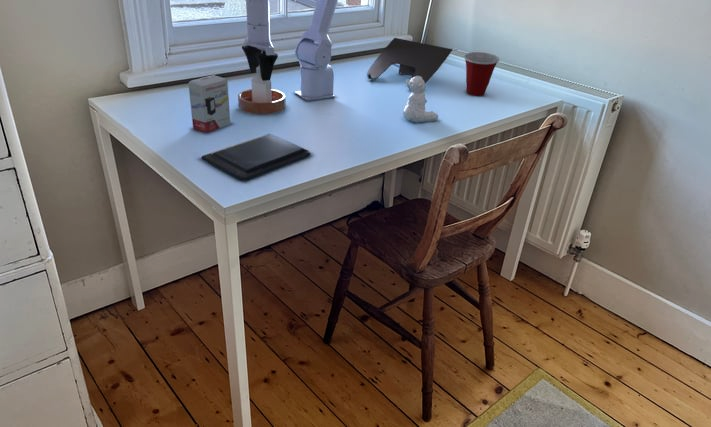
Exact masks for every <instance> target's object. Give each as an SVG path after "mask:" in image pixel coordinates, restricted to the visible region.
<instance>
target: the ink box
mask: <svg viewBox="0 0 711 427" xmlns="http://www.w3.org/2000/svg"><path fill="white" fill-rule="evenodd" d="M228 82H229V81H228V79H227V78H225V77H221V76H219V75H218V76H217V75H215V74H213V75H208V76H204V77H200V78H197V79H192V80H190V81H189V82H188V93H189V102H190V111H191V120H192V122H191V123H192V129H193V130H196V131H199V132H202V133H206V134H208V133H210V132H214V131H216V130H218V129H221V128H224V127H226V126H229V125H231V113H230V112H231V110H230V98H229V96H230V95H229V84H228Z"/></svg>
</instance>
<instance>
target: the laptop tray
mask: <svg viewBox="0 0 711 427" xmlns="http://www.w3.org/2000/svg"><path fill="white" fill-rule="evenodd" d="M453 51H454V49H453V48H448V47H445V46H444V47H443V46H438V45H432V44H428V43H424V42H418V41H412V40H408V39H404V38H398V37H393V39H392V40H391V41H390V42H389V43H388V44H387V45H386V47H385V48H384V49H383V50H382V51H381V53H380V54H379V55H378V56H377V57H376V59H375V60H374V61H373V63H372V64H371V65H370V67H369V69H368V70H367V72H366V76H367V78H368V81H369V82H372V81H373V80H377V79H378V78H379V77H381V76H382V75H383V74H384V73H385V72H386V71H387V70H388V69H389V68H390V67H391V66H393V65H399V67H398V74H399V75H400V76H410V80H411V79H412V78H413V77H416V76H421V77H422V79H423V80H424V82H425V84H426V83H427V82H429V80H430V79H431V78H432V77H433V76H434V75H435V74H436V73H437V71H438V70H439V69H440V68H441V67H442V65H443V64H444V63H445V61H446V60H447V58H449V56H450V55H451V53H452V52H453ZM408 86H409V85H408V84H407V88H408V89H409V91H410V92H412V91H411V89H410V88H409V87H408Z"/></svg>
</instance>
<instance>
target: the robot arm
mask: <svg viewBox="0 0 711 427" xmlns="http://www.w3.org/2000/svg"><path fill="white" fill-rule="evenodd" d="M244 1H245V10H246V29H247V35H244V41H243V45H242V46H241V49H242V51H243V53H244V55H245V57H246V61H247V63H248V64H247V65H248V68H249V71H250V73H251V74H256V68H257V67H260V73H261V78H262V80H263V81H267V80H270V81H271V79H272V75H273V74H272V73H273V69H274V65H275V63H276V61H277V60H278V58H279V54H278V53H276V52H275V46H273V43H272V41H271V23H270V20H271V19H270V18H271V17H270V0H244ZM338 1H339V0H316V3H315V7H314V10H313V15H312V18H311V21H310V25H309V29H307V30H306V31H304V32H303V33H302V34H301V37H300V40H299V41H298V43H297V44H296V46H295V49H294V54H295V57H296V59H297V60H298V62H299V63H298V65H300V90H298V91H295V92H294V94H296V95H297V96H299V97H300V98H302V99H303V100H305V101H309V102H310V101H315V100H323V99H331V98H335V95H334V82H335V81H334V80H335V74H334V70H333V68H332V66H331V65H329V64H330V62H331V60H332V47H333V42H332V40H331V39H330V37H329V32H330V28H331V25H332V22H333V18H334V15H335V12H336V8H337V5H338Z"/></svg>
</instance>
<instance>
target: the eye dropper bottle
mask: <svg viewBox="0 0 711 427" xmlns="http://www.w3.org/2000/svg"><path fill="white" fill-rule="evenodd" d="M251 89H252V102H259V103H262V102H272V90H271V89H272V80H271V79H270V80H267V81H263V80H262V78H261V73H260V67H257V68H256V73H255V76H252V78H251Z"/></svg>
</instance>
